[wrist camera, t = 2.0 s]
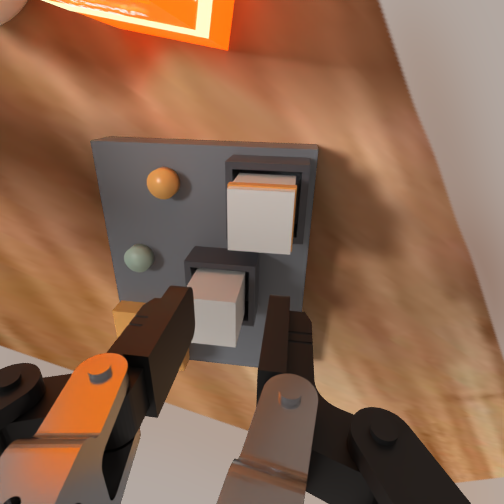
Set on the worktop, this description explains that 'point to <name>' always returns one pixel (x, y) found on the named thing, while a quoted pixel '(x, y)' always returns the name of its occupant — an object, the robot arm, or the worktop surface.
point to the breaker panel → (199, 223)
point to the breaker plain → (218, 306)
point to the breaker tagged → (261, 213)
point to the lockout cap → (126, 313)
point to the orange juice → (163, 18)
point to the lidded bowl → (10, 9)
